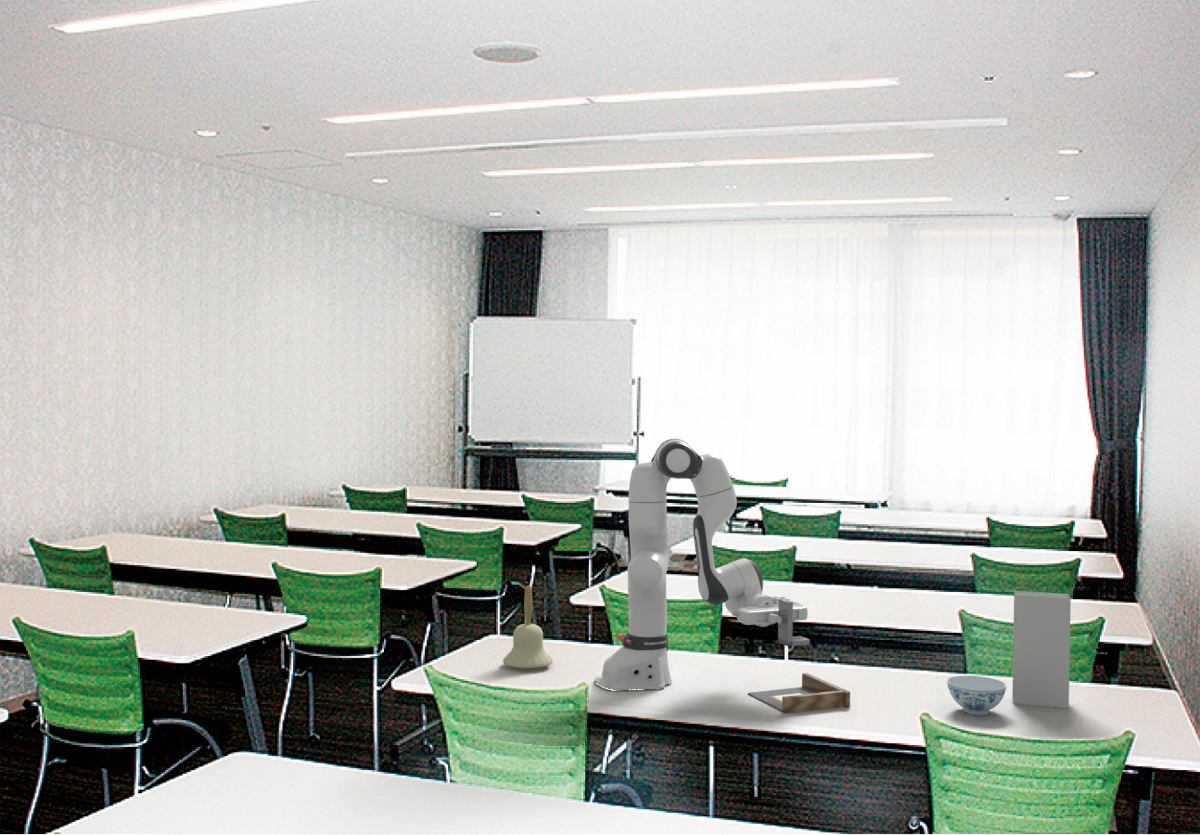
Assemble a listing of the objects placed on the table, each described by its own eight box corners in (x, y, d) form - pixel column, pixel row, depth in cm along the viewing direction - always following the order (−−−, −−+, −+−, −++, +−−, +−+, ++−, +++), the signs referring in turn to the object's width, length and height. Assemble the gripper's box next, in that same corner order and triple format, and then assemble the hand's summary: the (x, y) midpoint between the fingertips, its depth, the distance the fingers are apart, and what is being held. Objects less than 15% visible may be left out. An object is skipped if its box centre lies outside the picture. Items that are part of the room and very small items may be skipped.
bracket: (787, 646, 303) (788, 602, 303) (778, 642, 308) (778, 599, 308) (809, 644, 306) (810, 600, 305) (799, 640, 310) (800, 597, 310)
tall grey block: (1067, 703, 306) (1069, 594, 305) (1069, 708, 301) (1071, 597, 300) (1012, 698, 310) (1014, 591, 310) (1012, 703, 305) (1014, 594, 305)
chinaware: (963, 700, 308) (963, 672, 308) (1015, 711, 297) (1016, 683, 297) (936, 710, 297) (936, 682, 297) (989, 723, 287) (989, 693, 287)
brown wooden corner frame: (786, 714, 293) (786, 699, 293) (746, 693, 313) (746, 679, 313) (850, 706, 301) (850, 691, 301) (806, 686, 321) (806, 673, 321)
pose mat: (781, 711, 296) (781, 709, 296) (747, 694, 312) (747, 692, 312) (839, 704, 302) (839, 703, 302) (803, 688, 319) (803, 686, 319)
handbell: (492, 666, 342) (493, 584, 342) (531, 658, 352) (531, 579, 352) (524, 675, 331) (524, 591, 330) (563, 667, 341) (563, 586, 341)
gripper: (729, 601, 314) (753, 610, 301) (791, 596, 321) (818, 605, 309) (728, 624, 314) (753, 634, 301) (791, 618, 322) (818, 628, 309)
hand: (786, 619), depth 305 cm, fingers closed on bracket
